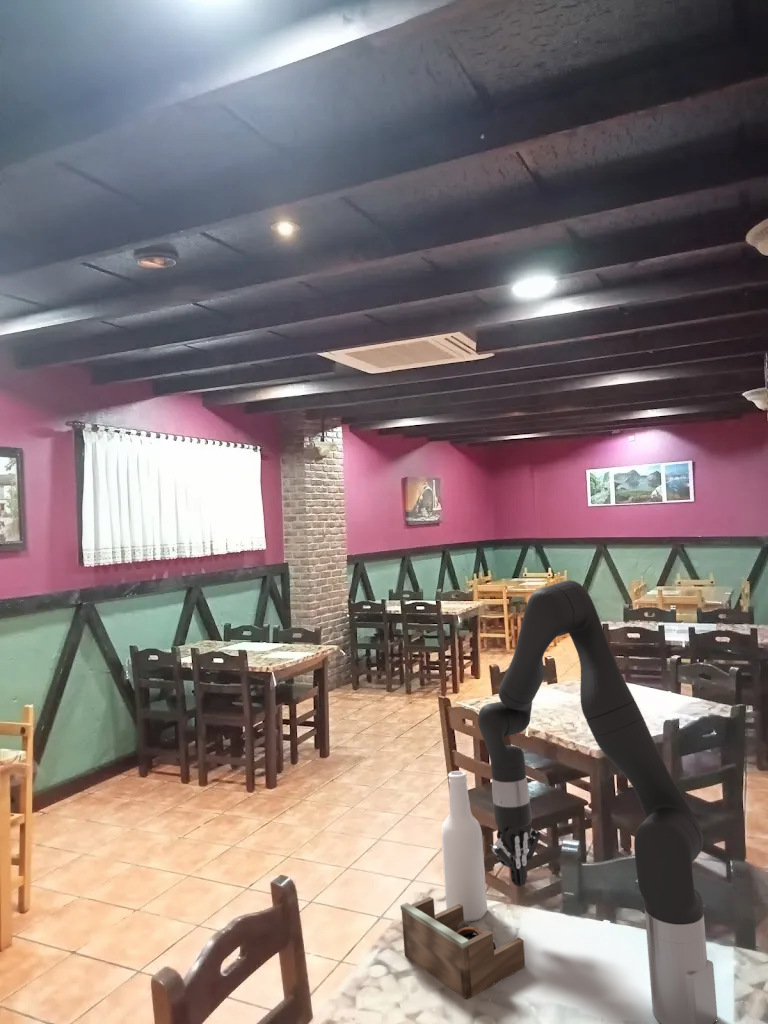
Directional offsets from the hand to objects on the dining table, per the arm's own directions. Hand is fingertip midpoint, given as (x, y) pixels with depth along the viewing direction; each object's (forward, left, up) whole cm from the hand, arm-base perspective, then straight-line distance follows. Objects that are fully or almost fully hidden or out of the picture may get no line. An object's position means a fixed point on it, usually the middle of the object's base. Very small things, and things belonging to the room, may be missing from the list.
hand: (519, 884), depth 152 cm
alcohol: (+13, +3, -10) cm, 17 cm away
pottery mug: (-2, +15, -10) cm, 18 cm away
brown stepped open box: (0, +16, -10) cm, 19 cm away
